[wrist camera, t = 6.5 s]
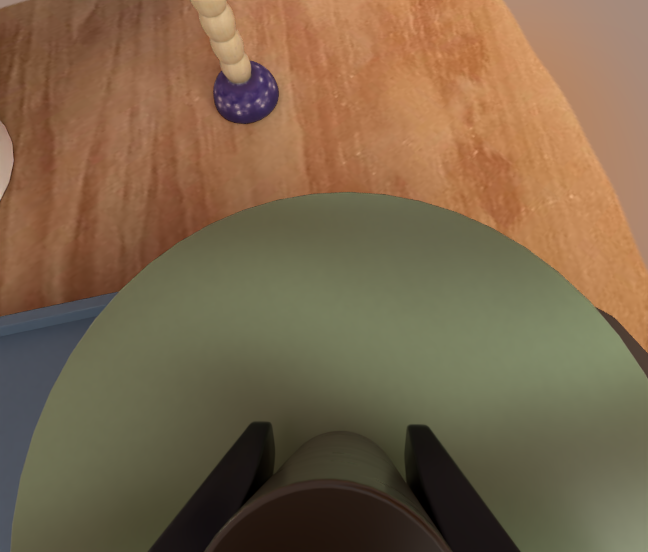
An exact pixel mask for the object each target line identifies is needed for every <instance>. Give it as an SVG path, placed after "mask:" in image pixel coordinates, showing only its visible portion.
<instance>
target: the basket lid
mask: <svg viewBox="0 0 648 552" xmlns="http://www.w3.org/2000/svg"><path fill="white" fill-rule="evenodd" d="M254 421H267V422H270V423H271V424H272V427H273V435H274V443H275V464H274V473H273V475H272V477H271V478H270V479H269V480H268V481H267V482H266V483H265V484H264V485H263V486H262V487H261V488H260V489H259V490H258V491H257V492H256V493H255V494H254V495H253V496H252V497H251V498H250V499H249V500H248V501H247V502H246V503H245V504H244V505H243V506H242V507H241V508H240V509H239V510H238V511H237V512H236V513H235V514H234V515H233V516H232V517H231V518H230V519H229V520H228V522H227V523H226V524H225V525H224V526H223V527H222V528H221V529H220V531H219V532H218V533H217V534H216V535H215V536H214V538H213V539H212V541H211V542H210V544H209V545H208V546H207V548H206V549H205V551H204V552H452V550H451V549H450V547H449V546H448V544H447V543H446V541H445V540H444V538H443V537H442V535H441V534H440V532H439V531H438V529H437V528H436V526H435V525H434V523H433V522H432V520H431V519H430V517H429V516H428V514H427V513H426V511H425V510H424V509H423V507H422V506H421V504H420V503H419V501H418V500H417V498H416V497H415V495H414V494H413V492H412V491H411V489H410V488H409V486H408V485H407V483H406V472H405V461H404V450H405V439H406V429H407V426H408V425H409V424H425V425H427V426H429V427H430V429H431V430H432V431H433V433H434V434H435V435H436V437H437V438H438V440H439V441H440V442H441V444H442V445H443V446H444V448H445V449H446V450H447V452H448V453H449V455H450V456H451V457H452V459H453V460H454V461H455V463H456V464H457V465H458V467H459V468H460V469H461V471H462V472H463V474H464V475H465V476H466V478H467V479H468V480H469V482H470V483H471V484H472V486H473V487H474V489H475V490H476V491H477V493H478V494H479V495H480V497H481V498H482V499H483V501H484V502H485V504H486V505H487V506H488V508H489V509H490V510H491V512H492V513H493V514H494V516H495V517H496V519H497V520H498V521H499V523H500V524H501V525H502V527H503V528H504V529H505V531H506V532H507V534H508V535H509V536H510V538H511V539H512V540H513V542H514V543H515V544H516V546H517V547H518V548H519V550H520V551H521V552H648V378H647V377H646V375H645V373H644V372H643V370H642V369H641V367H640V366H639V364H638V363H637V361H636V360H635V358H634V357H633V355H632V354H631V352H630V351H629V350H628V348H627V347H626V345H625V344H624V342H623V341H622V339H621V338H620V336H619V335H618V334H617V333H616V331H615V330H614V329H613V328H612V327H611V326H610V324H609V323H608V322H607V321H606V320H605V319H604V317H603V316H602V315H601V314H600V313H599V312H598V310H597V309H596V308H595V307H594V306H593V305H592V303H591V302H590V301H589V300H588V299H587V298H586V297H585V296H584V295H582V294H581V293H580V292H579V291H578V290H577V289H576V288H575V287H574V286H573V285H572V284H571V283H570V282H569V281H568V280H566V279H565V278H564V277H563V276H562V275H561V274H560V273H559V272H558V271H556V270H555V269H554V268H552V267H551V266H550V265H548V264H547V263H546V262H544V261H543V260H542V259H540V258H539V257H538V256H536V255H535V254H534V253H532V252H531V251H530V250H528V249H527V248H526V247H524V246H522V245H520V244H519V243H517V242H515V241H514V240H512V239H510V238H508V237H507V236H505V235H503V234H502V233H500V232H498V231H496V230H495V229H493V228H491V227H489V226H487V225H484V224H482V223H480V222H478V221H475V220H473V219H471V218H468V217H466V216H464V215H462V214H459V213H457V212H454V211H451V210H448V209H445V208H441V207H438V206H435V205H432V204H428V203H425V202H422V201H418V200H412V199H407V198H401V197H396V196H390V195H385V194H371V193H356V192H339V193H320V194H309V195H303V196H297V197H292V198H286V199H280V200H276V201H272V202H269V203H265V204H262V205H259V206H255V207H252V208H248V209H245V210H242V211H240V212H238V213H235V214H233V215H231V216H228V217H226V218H224V219H221V220H219V221H216V222H214V223H212V224H210V225H208V226H206V227H204V228H203V229H201V230H199V231H197V232H196V233H194V234H192V235H190V236H189V237H187V238H185V239H183V240H182V241H180V242H178V243H177V244H176V245H174V246H173V247H171V248H170V249H169V250H167V251H166V252H165V253H163V254H162V255H160V256H159V257H158V258H156V259H155V260H154V261H152V262H151V263H150V264H148V265H147V266H146V267H145V268H144V269H143V270H142V271H141V272H140V273H138V274H137V275H136V276H135V277H134V278H133V279H132V280H131V281H130V282H129V283H128V284H127V285H125V286H124V287H123V288H122V289H121V290H120V291H119V292H118V293H117V295H116V296H115V297H114V298H113V299H112V300H111V301H110V303H109V304H108V305H107V306H106V307H105V308H104V310H103V311H102V312H101V313H100V314H99V315H98V316H97V318H96V319H95V320H94V321H93V323H92V324H91V326H90V327H89V328H88V330H87V331H86V333H85V334H84V336H83V337H82V339H81V340H80V341H79V343H78V344H77V346H76V347H75V349H74V350H73V352H72V353H71V355H70V356H69V358H68V360H67V362H66V364H65V366H64V367H63V369H62V371H61V373H60V375H59V377H58V378H57V380H56V382H55V384H54V386H53V388H52V389H51V391H50V394H49V396H48V399H47V401H46V403H45V406H44V408H43V411H42V413H41V416H40V418H39V420H38V423H37V425H36V428H35V430H34V433H33V436H32V439H31V443H30V446H29V450H28V453H27V457H26V460H25V463H24V467H23V470H22V474H21V477H20V483H19V488H18V494H17V500H16V505H15V511H14V517H13V522H12V534H11V549H10V552H147V551H148V550H149V549H150V548H151V546H152V545H153V544H154V543H155V541H156V540H157V539H158V538H159V536H160V535H161V534H162V533H163V531H164V530H165V529H166V528H167V526H168V525H169V524H170V523H171V521H172V520H173V519H174V518H175V517H176V515H177V514H178V513H179V512H180V510H181V509H182V508H183V507H184V505H185V504H186V503H187V502H188V500H189V499H190V498H191V497H192V495H193V494H194V493H195V492H196V490H197V489H198V488H199V487H200V485H201V484H202V483H203V482H204V480H205V479H206V478H207V477H208V475H209V474H210V473H211V472H212V470H213V469H214V468H215V467H216V465H217V464H218V463H219V462H220V460H221V459H222V458H223V457H224V455H225V454H226V453H227V452H228V450H229V449H230V448H231V447H232V445H233V444H234V443H235V442H236V441H237V439H238V438H239V437H240V436H241V434H242V433H243V432H244V431H245V429H246V428H247V427H248V426H249V424H250V423H252V422H254Z"/></svg>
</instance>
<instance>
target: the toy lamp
mask: <svg viewBox="0 0 648 552" xmlns="http://www.w3.org/2000/svg"><path fill="white" fill-rule="evenodd" d="M190 1H191V3H192V4H193V6H194V7H195V9H196V10H197V11H198V12H199V20H200V23H201V26H202V28H203V30H204V31H205V33H206V34H207V35H208V36H209V37H210V44H211V47H212V50H213V51H214V53H215V55H216V56H217V57H218V58H219V61H220V67H221V69H222V71H221V72H220V73H219V75H218V76H217V78H216V81H215V84H214V91H213V94H214V101H215V105H216V108H217V110H218V112H219V113H220V114H221V115H222V116H223V117H224V118H225V119H227V120H229V121H232V122H235V123H243V124H246V123H252V122H256V121H258V120H261V119H262V118H264V117H266V116H267V115H268V114H269V113H270V112H271V111H272V110H273V109H274V108H275V106H276V104H277V101H278V96H279V91H278V86H277V83H276V81H275V79H274V77H273V76H272V74H271V73H270V72H269V71H268V70H267V69H266V68H265V67H264V66H262V65H261V64H258V63H257V62H254V61H250V60H249V58H248V56H247V54H246V53H245V52H244V44H243V40H242V38H241V35H240V34H239V32H238V31H237V29H236V21H235V17H234V14H233V11H232V9H231V8H230V6H229V5H228V4H227V2H226V1H227V0H190Z"/></svg>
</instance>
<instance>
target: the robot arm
mask: <svg viewBox="0 0 648 552" xmlns="http://www.w3.org/2000/svg"><path fill="white" fill-rule="evenodd" d="M404 461H405V472H406V483H407V485H408V486H409V488H410V489H411V491H412V492H413V494H414V495H415V497H416V498H417V500H418V501H419V503H420V504H421V506H422V507H423V509H424V510H425V511H426V513H427V514H428V516H429V517H430V519H431V520H432V522H433V523H434V525H435V526H436V528H437V529H438V531H439V532H440V534H441V535H442V537H443V538H444V540H445V541H446V543H447V544H448V546H449V547H450V549H451V550H452V552H521V551H520V550H519V548H518V547H517V546H516V544H515V543H514V542H513V540H512V539H511V538H510V536H509V535H508V534H507V532H506V531H505V529H504V528H503V527H502V525H501V524H500V523H499V521H498V520H497V519H496V517H495V516H494V514H493V513H492V512H491V510H490V509H489V508H488V506H487V505H486V504H485V502H484V501H483V499H482V498H481V497H480V495H479V494H478V493H477V491H476V490H475V489H474V487H473V486H472V484H471V483H470V482H469V480H468V479H467V478H466V476H465V475H464V474H463V472H462V471H461V469H460V468H459V467H458V465H457V464H456V463H455V461H454V460H453V459H452V457H451V456H450V455H449V453H448V452H447V450H446V449H445V448H444V446H443V445H442V444H441V442H440V441H439V440H438V438H437V437H436V435H435V434H434V433H433V431H432V430H431V429H430V427H429V426H427V425H425V424H409V425H408V426H407V429H406V439H405V450H404ZM274 464H275V443H274V435H273V427H272V424H271V423H270V422H267V421H254V422H252V423H250V424H249V426H248V427H247V428H246V429H245V431H244V432H243V433H242V434H241V436H240V437H239V438H238V439H237V441H236V442H235V443H234V444H233V445H232V447H231V448H230V449H229V450H228V452H227V453H226V454H225V455H224V457H223V458H222V459H221V460H220V462H219V463H218V464H217V465H216V467H215V468H214V469H213V470H212V472H211V473H210V474H209V475H208V477H207V478H206V479H205V480H204V482H203V483H202V484H201V485H200V487H199V488H198V489H197V490H196V492H195V493H194V494H193V495H192V497H191V498H190V499H189V500H188V502H187V503H186V504H185V505H184V507H183V508H182V509H181V510H180V512H179V513H178V514H177V515H176V517H175V518H174V519H173V520H172V521H171V523H170V524H169V525H168V526H167V528H166V529H165V530H164V531H163V533H162V534H161V535H160V536H159V538H158V539H157V540H156V541H155V543H154V544H153V545H152V546H151V548H150V549H149V550H148V551H147V552H204V551H205V549H206V548H207V546H208V545H209V544H210V542H211V541H212V539H213V538H214V536H215V535H216V534H217V533H218V532H219V531H220V529H221V528H222V527H223V526H224V525H225V524H226V523H227V522H228V520H229V519H230V518H231V517H232V516H233V515H234V514H235V513H236V512H237V511H238V510H239V509H240V508H241V507H242V506H243V505H244V504H245V503H246V502H247V501H248V500H249V499H250V498H251V497H252V496H253V495H254V494H255V493H256V492H257V491H258V490H259V489H260V488H261V487H262V486H263V485H264V484H265V483H266V482H267V481H268V480H269V479H270V478H271V477H272V475H273V473H274Z"/></svg>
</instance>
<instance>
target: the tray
mask: <svg viewBox="0 0 648 552" xmlns="http://www.w3.org/2000/svg"><path fill="white" fill-rule="evenodd" d="M117 293H118V292H115V293H110V294H105V295H100V296H96V297H91V298H86V299H81V300H77V301H72V302H67V303H62V304H58V305H53V306H48V307H43V308H39V309H34V310H29V311H25V312H20V313H15V314H10V315H6V316H1V317H0V552H10V549H11V534H12V522H13V517H14V511H15V505H16V500H17V494H18V488H19V483H20V477H21V474H22V470H23V467H24V463H25V460H26V457H27V453H28V450H29V446H30V443H31V439H32V436H33V433H34V430H35V428H36V425H37V423H38V420H39V418H40V416H41V413H42V411H43V408H44V406H45V403H46V401H47V399H48V396H49V394H50V391H51V389H52V388H53V386H54V384H55V382H56V380H57V378H58V377H59V375H60V373H61V371H62V369H63V367H64V366H65V364H66V362H67V360H68V358H69V356H70V355H71V353H72V352H73V350H74V349H75V347H76V346H77V344H78V343H79V341H80V340H81V339H82V337H83V336H84V334H85V333H86V331H87V330H88V328H89V327H90V326H91V324H92V323H93V321H94V320H95V319H96V318H97V316H98V315H99V314H100V313H101V312H102V311H103V310H104V308H105V307H106V306H107V305H108V304H109V303H110V301H111V300H112V299H113V298H114V297H115V296H116V295H117Z"/></svg>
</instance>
